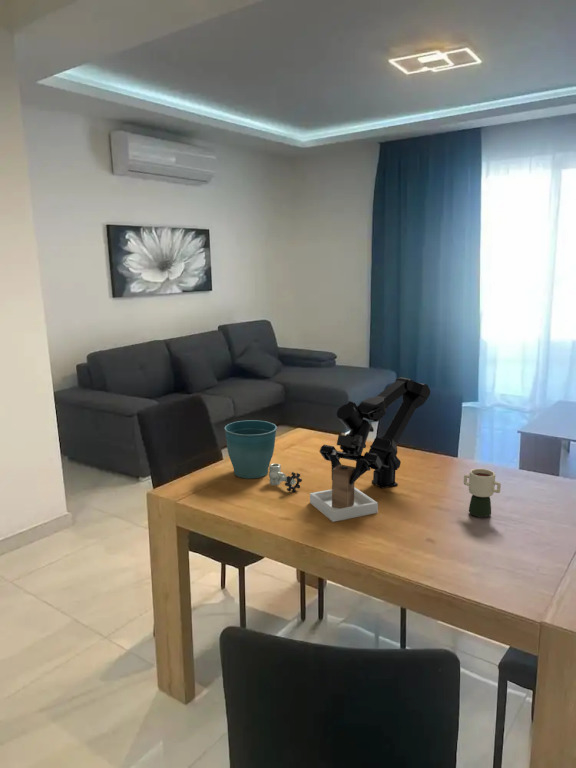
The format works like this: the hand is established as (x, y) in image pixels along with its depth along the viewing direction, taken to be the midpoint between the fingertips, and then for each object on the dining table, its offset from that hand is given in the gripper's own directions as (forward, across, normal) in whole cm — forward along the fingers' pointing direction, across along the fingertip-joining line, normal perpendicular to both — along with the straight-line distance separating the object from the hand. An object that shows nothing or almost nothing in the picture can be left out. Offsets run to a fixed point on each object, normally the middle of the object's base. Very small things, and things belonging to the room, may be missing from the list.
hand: (341, 482), depth 172 cm
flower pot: (-2, -41, +14) cm, 43 cm away
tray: (+5, 0, +7) cm, 9 cm away
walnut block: (+5, 0, +7) cm, 8 cm away
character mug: (-6, +37, +18) cm, 42 cm away
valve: (+2, -25, +11) cm, 27 cm away
